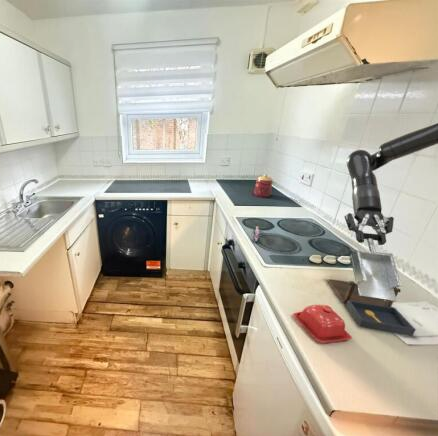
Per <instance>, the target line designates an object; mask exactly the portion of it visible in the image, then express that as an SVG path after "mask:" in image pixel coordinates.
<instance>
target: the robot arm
mask: <svg viewBox="0 0 438 436" xmlns="http://www.w3.org/2000/svg"><path fill="white" fill-rule="evenodd" d="M436 145H438V122H437V123H434V124H431V125H429V126H425V127H423V128H420V129H417V130H413V131H411V132H408V133H406V134H404V135H401V136H397V137H396V138H394V139H391V140H389V141H386V142H384V143H382V144H381V145H379V147H378V151H376V152H375V153H373V154H371V153H370V152H369V151H367V150H364V149H357V150H354V151H352V152H351V153H350V154H349V155H348V156H347V159H346V166H347V167H346V168H347V170H348V173H349V176H350V179H351V190H352V193H351V199H352V207H353V212H354V213H351V212H348V213H346V214H345V215H344V216H343V217H344V220H345V223H346V226H347V229H348V231H352V232H354V233H355V240H356V241H357V243H359V244H362V243H365V239H364V234H363V233H364V231H363V230H364V227H366V226H367V227H371V228H372V230H374V231H375V234H378V235H380V239H379V240H378V241H377V245H378V246H383V245H385V244H386V243H387V236H386V235H388V234H391V233H392V232H393V229H394V220H395V218H394V217H393V216H389V217H388V216H385V215H383V213H382V211H383V210H382V209H383V208H382V202H381V194H380V190H379V187H378V179H377V176H376V174H375V173H374V171H376V170H378V169H380V168H381V167H384V166H385V165H387V164H389V163H391V162H392V161H395V160H398V159H400V158H403V157H406V156H409V155H412V154H414V153H417V152H420V151H423V150H425V149H428V148H431V147H432V146H436ZM354 219H355V220H356V221H357V223H356V222H355V220H354Z"/></svg>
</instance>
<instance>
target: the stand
mask: <svg viewBox="0 0 438 436" xmlns="http://www.w3.org/2000/svg"><path fill="white" fill-rule="evenodd" d="M327 282H328V284H329V286H330V287H331V288H332V289H333V291H334V293H335V294H336V295H337V298H338V299H339V300H340V301H341V303H342V304H345V305H346V304H347V301H348V300H350V301H356V302H363V303H369V304H375V305H381V306H387V307H393V306H392V305H393V304H394V301H388V300H381V299H375V298H368V297H362V296H358V291H357V286H356V281H355V280H349V281H344V280H337V279H331V278H328V280H327ZM401 291H402V290H401V288H399V287H397V288H394V292H395V296H396V297H397V296H398V295H399V293H401Z"/></svg>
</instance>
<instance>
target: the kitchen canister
mask: <svg viewBox="0 0 438 436" xmlns="http://www.w3.org/2000/svg"><path fill="white" fill-rule="evenodd" d="M255 182H256V183H255V185H254V190H253V195H254V196H256V197H259V198H269V197H271V195H272V189H273V184H274V182H273V178H272V177H270V176H268V174H263V175H260V176H258V177H257V179H256V180H255Z"/></svg>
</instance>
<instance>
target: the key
mask: <svg viewBox="0 0 438 436" xmlns="http://www.w3.org/2000/svg"><path fill="white" fill-rule="evenodd" d="M365 314H367V315H368V316H371V317H372V318H373V319H374V320H375V321H377V322H380V321H379V320H378V319H377V318H376V317H375V316H374V315H375V314H374V313H373V312H372V311H369V310H365ZM381 323H382V322H381Z"/></svg>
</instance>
